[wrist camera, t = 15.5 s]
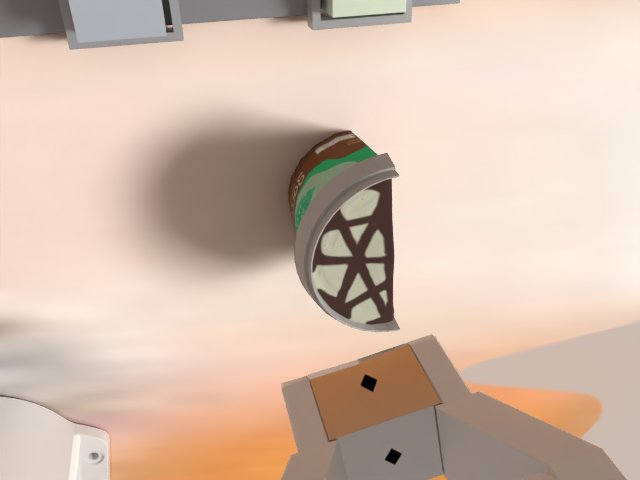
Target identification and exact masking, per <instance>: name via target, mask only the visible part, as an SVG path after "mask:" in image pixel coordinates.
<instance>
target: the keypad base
mask: <svg viewBox="0 0 640 480" xmlns="http://www.w3.org/2000/svg"><path fill="white" fill-rule="evenodd" d="M455 3H460V0H407V1H406V12H399V13H386V14H373V15H360V16H347V17H334V18H333V17H331V16H330V15H329V16H321V14H322V13H326V12H325V11H323V10H322V0H162V6H163V12H164V19H165V25H173V27H172V28H166V34H167V36H159V37H146V38H133V39H121V40H108V41H95V42H82V43H78V41H77V36H76V32H75V27H74V23H73V19H72V14H71V10H70V5H69V1H68V0H0V38H3V37H17V36H30V35H43V34H56V33H66V35H67V40H68V44H69V48H70V50H71V49H84V48H96V47H109V46H121V45H134V44H146V43H159V42H171V41H183V40H184V38H183V31H182V24H189V23H203V22H216V21H229V20H243V19H256V18H269V17H283V16H296V15H308V26H309V27H310V28H311V29H312V30H320V29H333V28H345V27H358V26H370V25H383V24H395V23H408V22H411V16H412V7H416V6H429V5H442V4H455Z"/></svg>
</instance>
